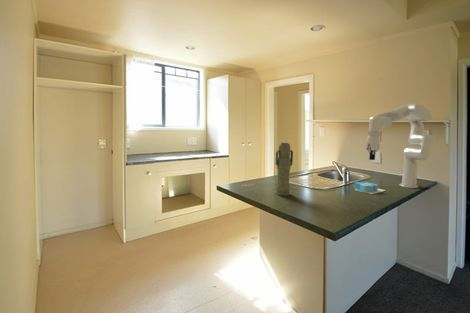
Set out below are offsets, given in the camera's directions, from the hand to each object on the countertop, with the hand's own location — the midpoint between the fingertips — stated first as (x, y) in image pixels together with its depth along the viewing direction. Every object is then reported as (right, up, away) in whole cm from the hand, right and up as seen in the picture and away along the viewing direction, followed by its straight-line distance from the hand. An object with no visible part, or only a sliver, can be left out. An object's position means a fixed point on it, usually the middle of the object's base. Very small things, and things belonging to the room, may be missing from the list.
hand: (372, 159), depth 195 cm
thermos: (-67, -24, -11) cm, 72 cm away
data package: (+3, -20, +5) cm, 21 cm away
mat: (0, -23, +4) cm, 23 cm away
